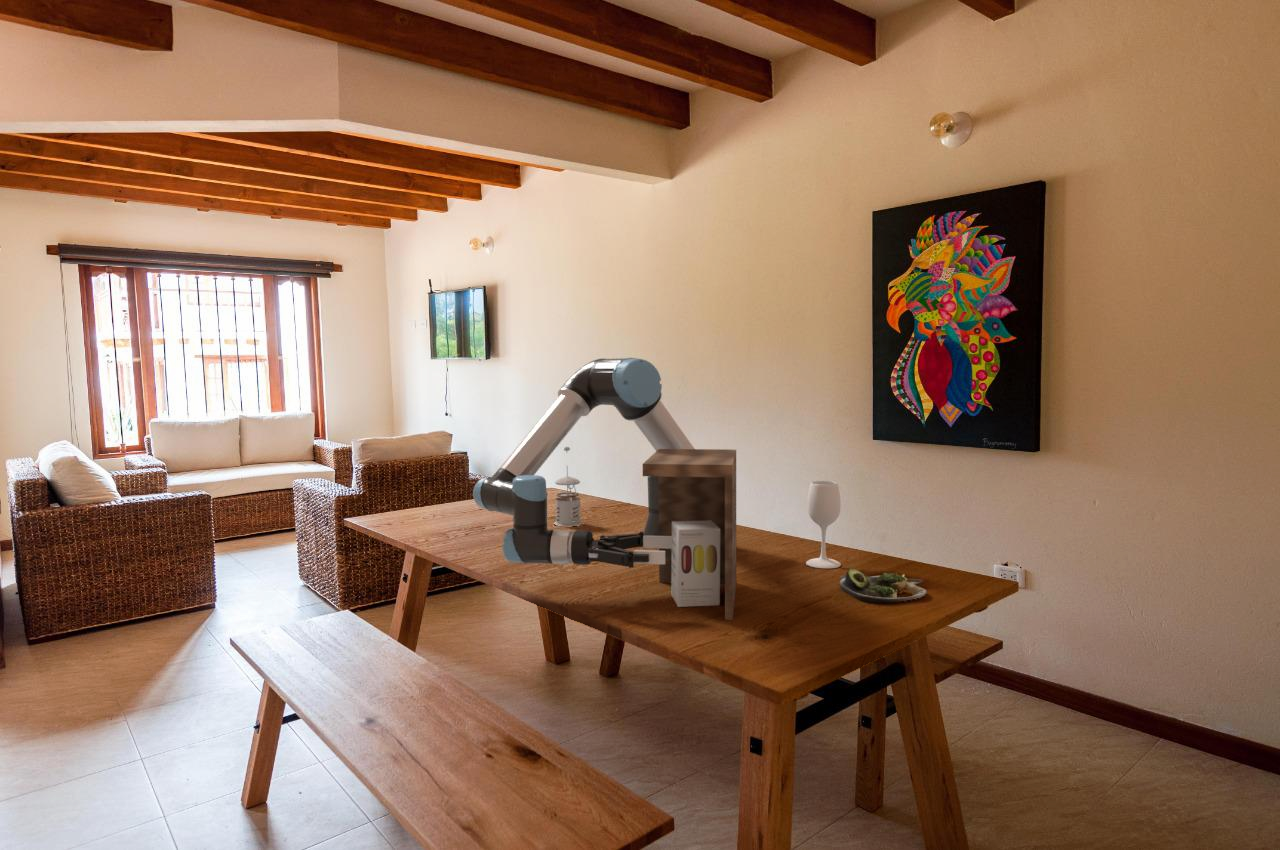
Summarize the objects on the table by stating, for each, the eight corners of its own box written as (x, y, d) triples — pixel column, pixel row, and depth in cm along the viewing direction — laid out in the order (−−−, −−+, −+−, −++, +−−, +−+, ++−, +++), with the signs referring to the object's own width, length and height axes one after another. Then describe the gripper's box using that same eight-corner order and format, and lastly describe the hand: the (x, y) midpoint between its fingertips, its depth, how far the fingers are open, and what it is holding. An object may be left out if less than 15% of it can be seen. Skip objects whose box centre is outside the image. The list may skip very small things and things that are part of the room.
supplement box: (677, 607, 165) (676, 529, 163) (670, 594, 174) (669, 520, 172) (721, 605, 166) (721, 527, 164) (712, 592, 175) (711, 518, 174)
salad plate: (903, 578, 186) (903, 559, 186) (948, 600, 169) (948, 579, 168) (828, 584, 182) (828, 565, 181) (866, 607, 164) (867, 586, 164)
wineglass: (841, 569, 193) (842, 485, 191) (806, 568, 194) (806, 485, 193) (840, 560, 201) (840, 480, 199) (805, 559, 203) (806, 479, 201)
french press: (549, 527, 245) (547, 448, 243) (559, 519, 257) (557, 444, 255) (579, 527, 244) (578, 448, 242) (588, 520, 255) (586, 444, 253)
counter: (644, 616, 159) (642, 463, 157) (660, 580, 185) (659, 449, 182) (732, 619, 157) (732, 464, 154) (736, 583, 182) (736, 449, 180)
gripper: (585, 550, 185) (674, 552, 182) (559, 579, 160) (662, 582, 157) (585, 519, 184) (674, 520, 181) (559, 543, 160) (661, 546, 157)
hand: (668, 549), depth 169 cm, fingers open, 13 cm apart
